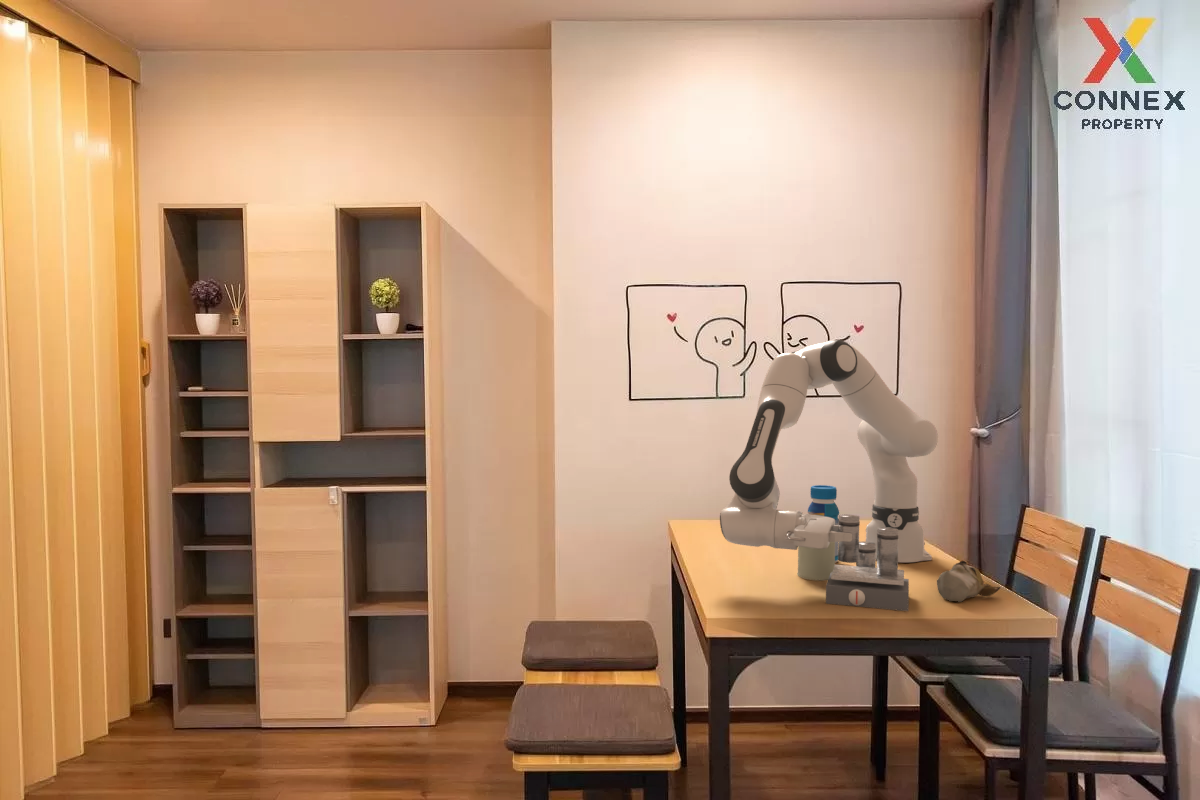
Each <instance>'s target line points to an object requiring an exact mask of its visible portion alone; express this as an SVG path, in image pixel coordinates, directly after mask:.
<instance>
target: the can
mask: <svg viewBox="0 0 1200 800" xmlns="http://www.w3.org/2000/svg"><path fill="white" fill-rule="evenodd" d="M797 551H798V552H797V573H796V576H798V577H800V578H802V579H804V580H809V581H828V579H829V576H830V573H832V571H833V569H834V566H835V565H836V563H835V542H830V543H829V546H828V548H826V549H816V548H808V547H800V546H798V549H797Z"/></svg>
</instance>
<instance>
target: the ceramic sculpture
mask: <svg viewBox="0 0 1200 800" xmlns="http://www.w3.org/2000/svg"><path fill="white" fill-rule="evenodd" d="M936 587H937V588H936V589H937V591H938V594H939V595H940V597H942V598H943V599H945V600H947V601H948V600H949V602H951V601H958V602H957V603H961V602H963V601H965V600H966V599H971V598H970V597H972V598H975V597H977V596H982V597H988V596H989V597H991V596H993V595H994V594H996V593H998V591H999V590H1000V589H1001V586H993V585H991V584H988V583H985V581H984V580H983V577H982V574H981V572H980V570H979V569H978V568H977V567H974V566H971V565H969V564H968V563H967V562H966V561H965V560H962V561H960V560H959V562H957V563H955V564H953V566H952V568H951V569H949V570H945V571H943V572H942V573H941V574H940V575H939V577H938V578H937V579H936Z"/></svg>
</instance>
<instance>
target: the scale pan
mask: <svg viewBox="0 0 1200 800" xmlns="http://www.w3.org/2000/svg"><path fill="white" fill-rule="evenodd" d="M831 579H835V580H846V581H858V582H869V583H881V584H892V585H904V579H905V570H904V569H898V575H897V576H881V575H878V574H877V567H876V568H871V567H859V566H856V565H845V564H835V566H834V569H833V571H832V574H831Z"/></svg>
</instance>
